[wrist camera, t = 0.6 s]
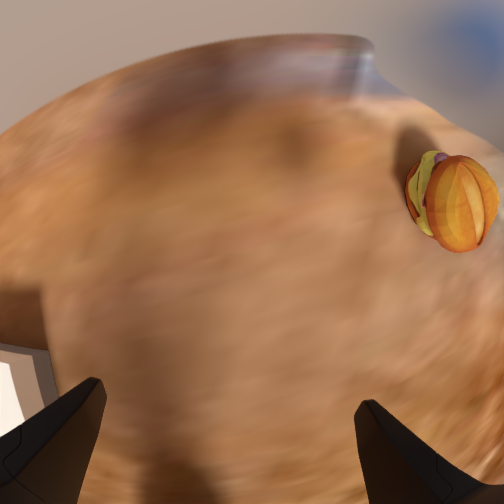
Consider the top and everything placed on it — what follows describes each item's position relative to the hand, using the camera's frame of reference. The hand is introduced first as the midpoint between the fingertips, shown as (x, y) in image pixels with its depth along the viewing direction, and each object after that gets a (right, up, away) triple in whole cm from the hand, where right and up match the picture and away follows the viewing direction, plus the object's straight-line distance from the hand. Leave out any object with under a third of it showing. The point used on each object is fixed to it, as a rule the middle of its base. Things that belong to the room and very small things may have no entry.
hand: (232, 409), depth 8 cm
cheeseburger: (+21, +10, +18) cm, 29 cm away
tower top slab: (-22, -9, +8) cm, 25 cm away
